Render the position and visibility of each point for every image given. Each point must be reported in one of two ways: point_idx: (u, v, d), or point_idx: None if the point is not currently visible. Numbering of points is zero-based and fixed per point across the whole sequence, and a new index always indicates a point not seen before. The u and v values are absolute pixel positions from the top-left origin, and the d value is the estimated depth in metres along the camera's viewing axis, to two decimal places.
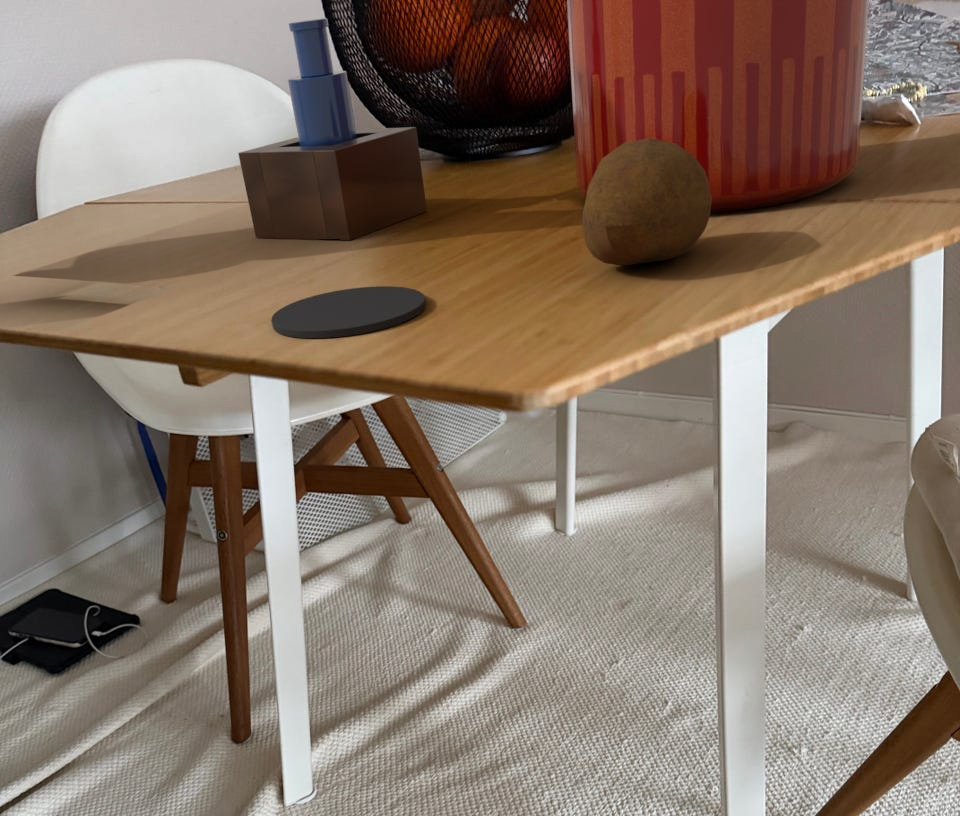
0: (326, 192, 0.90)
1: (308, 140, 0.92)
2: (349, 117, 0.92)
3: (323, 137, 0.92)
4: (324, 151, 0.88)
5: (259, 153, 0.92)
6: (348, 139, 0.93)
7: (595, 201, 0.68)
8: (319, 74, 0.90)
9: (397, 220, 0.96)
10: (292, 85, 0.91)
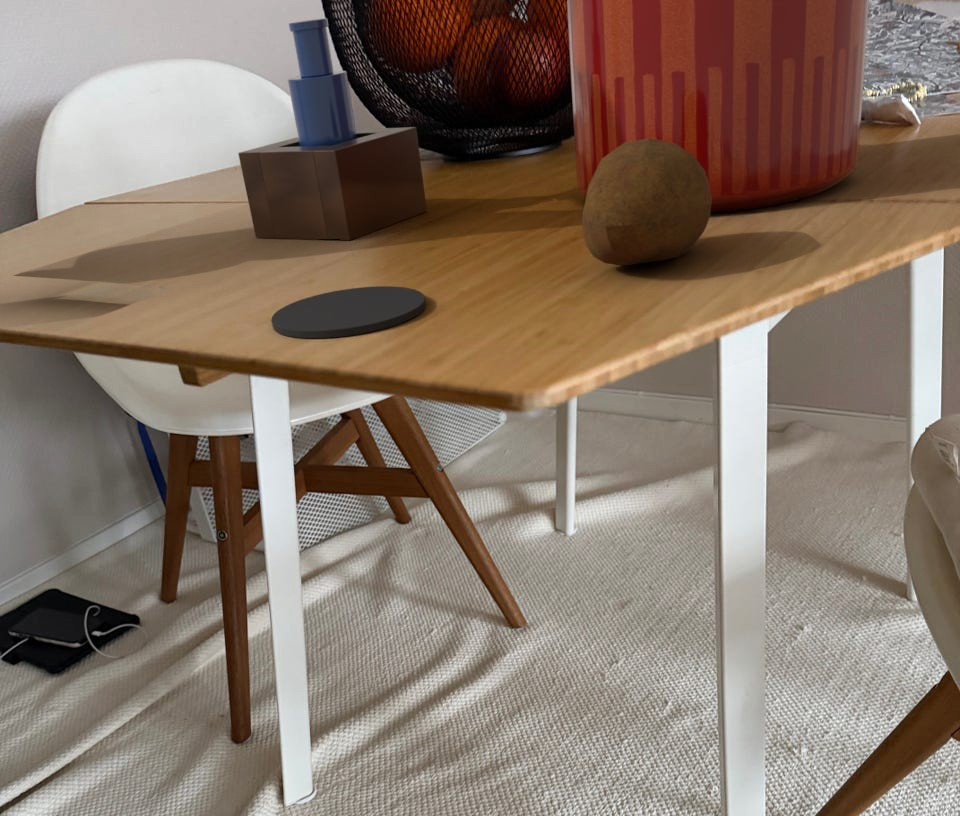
0: (326, 192, 0.90)
1: (308, 140, 0.92)
2: (349, 117, 0.92)
3: (323, 137, 0.92)
4: (324, 151, 0.88)
5: (259, 153, 0.92)
6: (348, 139, 0.93)
7: (595, 201, 0.68)
8: (319, 74, 0.90)
9: (397, 220, 0.96)
10: (292, 85, 0.91)
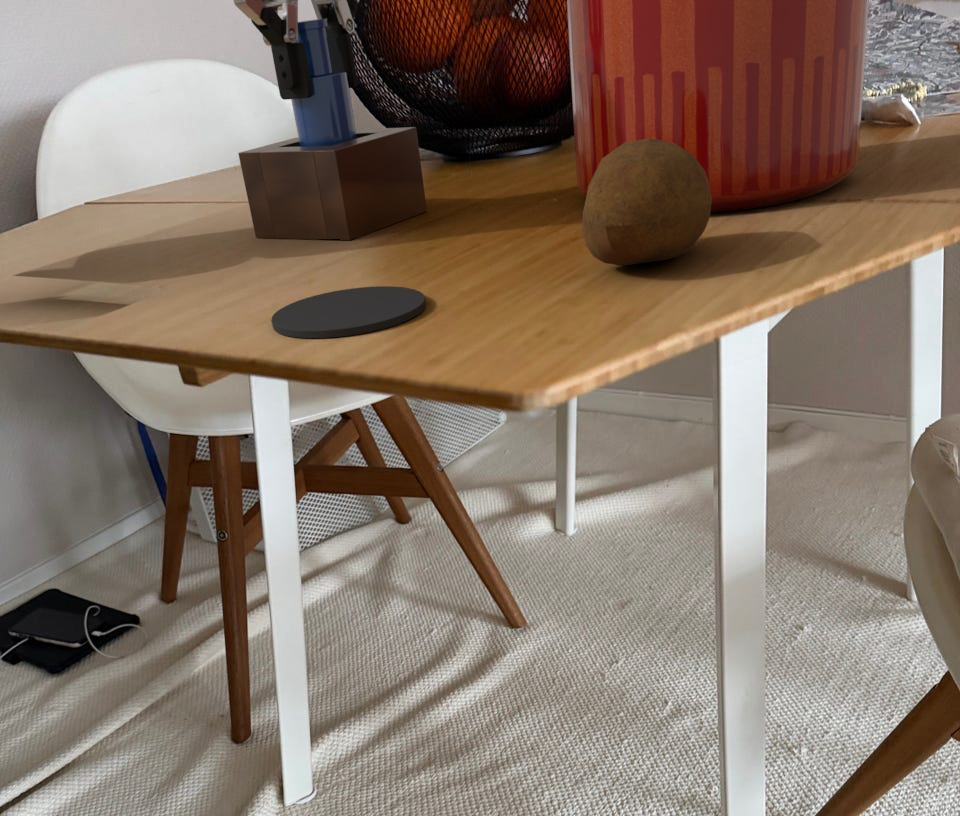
0: (326, 192, 0.90)
1: (308, 140, 0.92)
2: (349, 117, 0.92)
3: (323, 137, 0.92)
4: (324, 151, 0.88)
5: (259, 153, 0.92)
6: (348, 139, 0.93)
7: (595, 201, 0.68)
8: (319, 74, 0.90)
9: (397, 220, 0.96)
10: None
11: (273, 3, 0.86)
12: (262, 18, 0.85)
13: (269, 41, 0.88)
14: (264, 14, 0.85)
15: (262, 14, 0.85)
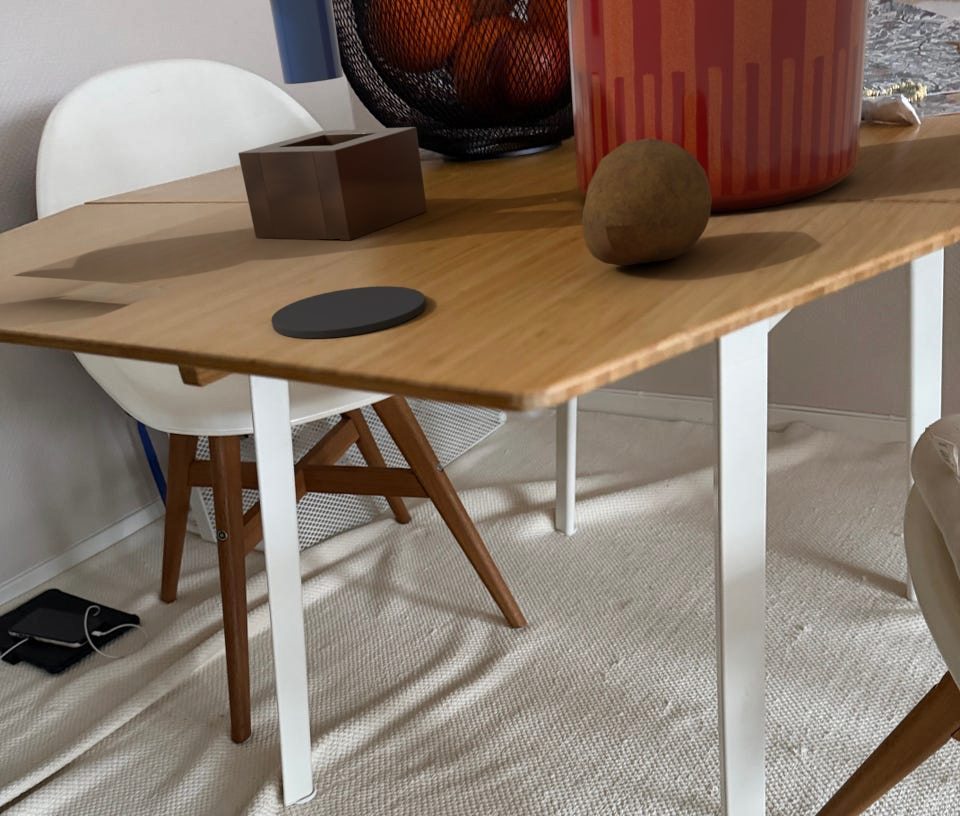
0: (326, 192, 0.90)
1: None
2: None
3: None
4: (324, 151, 0.88)
5: (259, 153, 0.92)
6: None
7: (595, 201, 0.68)
8: None
9: (397, 220, 0.96)
10: None
11: None
12: None
13: None
14: None
15: None
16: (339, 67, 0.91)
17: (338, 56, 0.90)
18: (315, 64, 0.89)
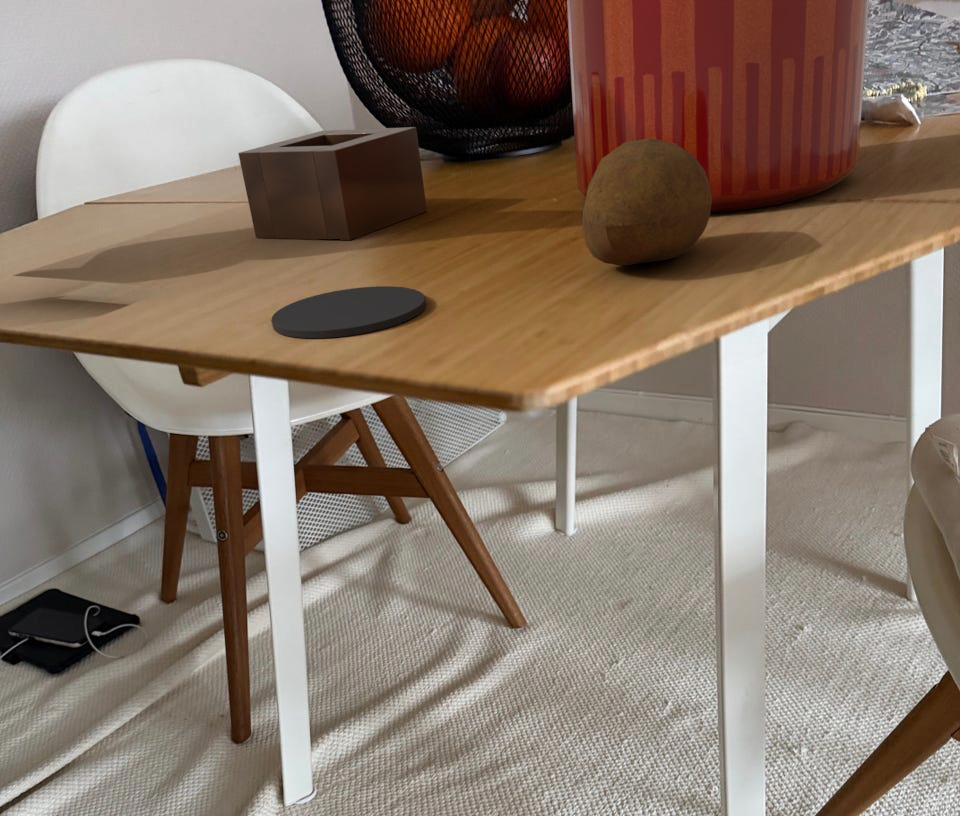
0: (326, 192, 0.90)
1: None
2: None
3: None
4: (324, 151, 0.88)
5: (259, 153, 0.92)
6: None
7: (595, 201, 0.68)
8: None
9: (397, 220, 0.96)
10: None
11: None
12: None
13: None
14: None
15: None
16: None
17: None
18: None
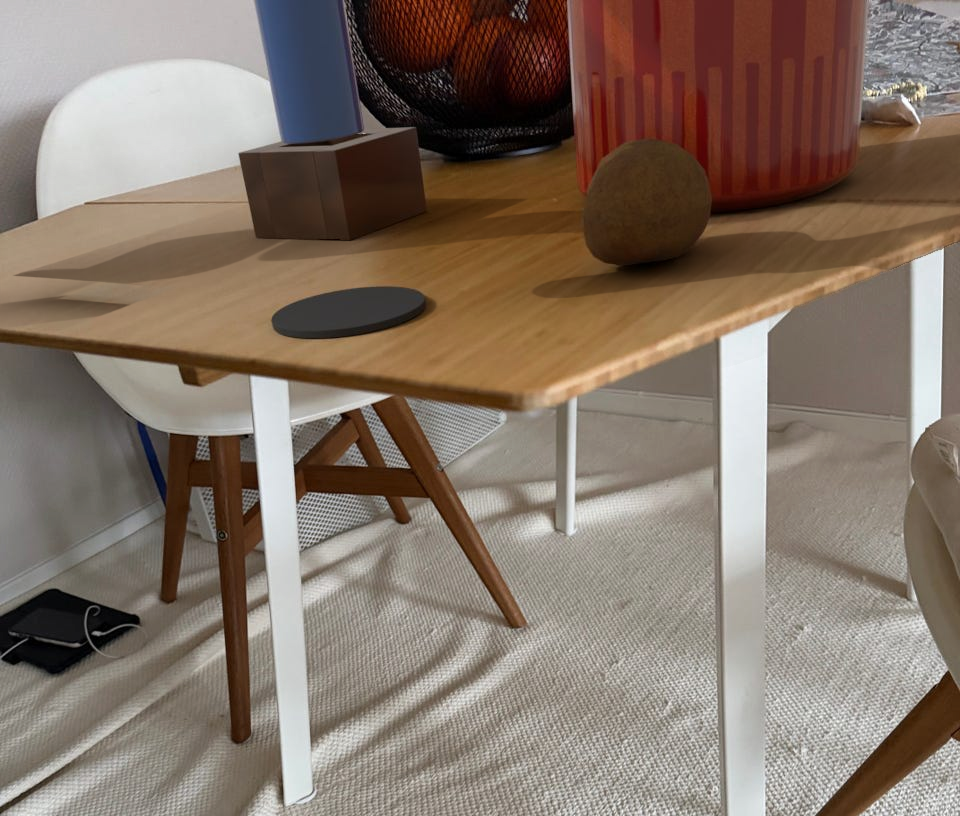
0: (326, 192, 0.90)
1: None
2: None
3: None
4: (324, 151, 0.88)
5: (259, 153, 0.92)
6: None
7: (595, 201, 0.68)
8: None
9: (397, 220, 0.96)
10: None
11: None
12: None
13: None
14: None
15: None
16: (359, 118, 0.64)
17: (358, 103, 0.64)
18: (325, 117, 0.62)
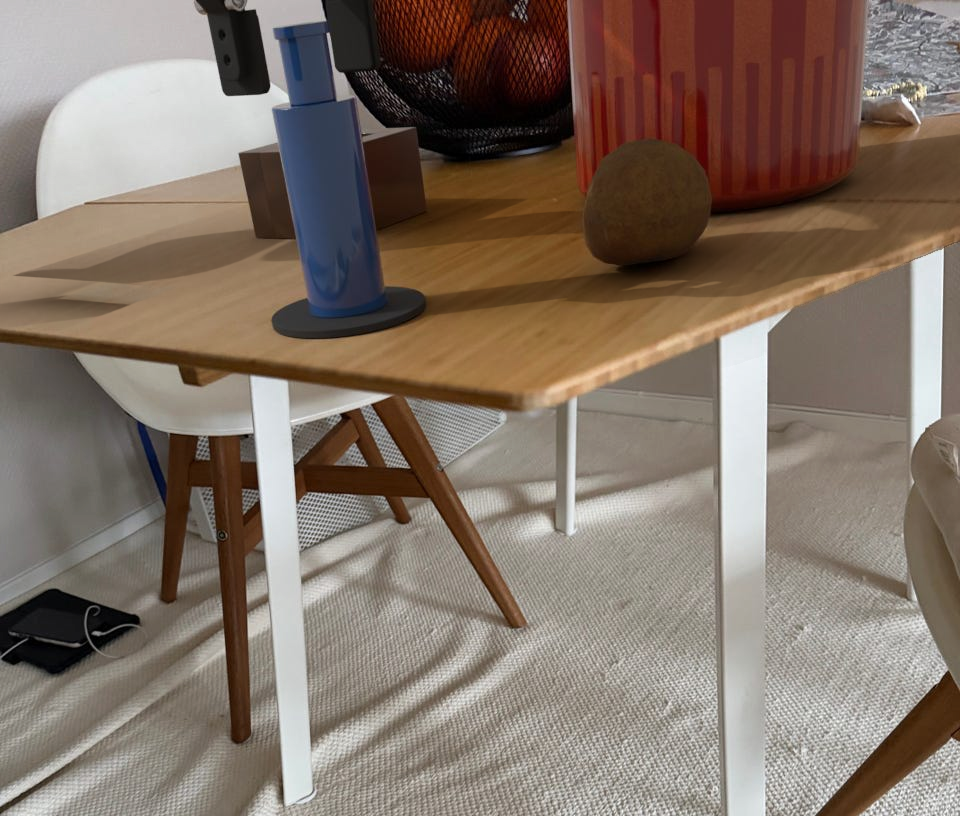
0: None
1: (301, 194, 0.65)
2: (359, 161, 0.65)
3: (322, 191, 0.64)
4: None
5: (259, 153, 0.92)
6: (358, 192, 0.65)
7: (595, 201, 0.68)
8: (316, 101, 0.63)
9: (397, 220, 0.96)
10: (277, 117, 0.63)
11: None
12: None
13: (203, 7, 0.58)
14: None
15: None
16: (383, 293, 0.69)
17: (381, 280, 0.69)
18: (352, 296, 0.68)
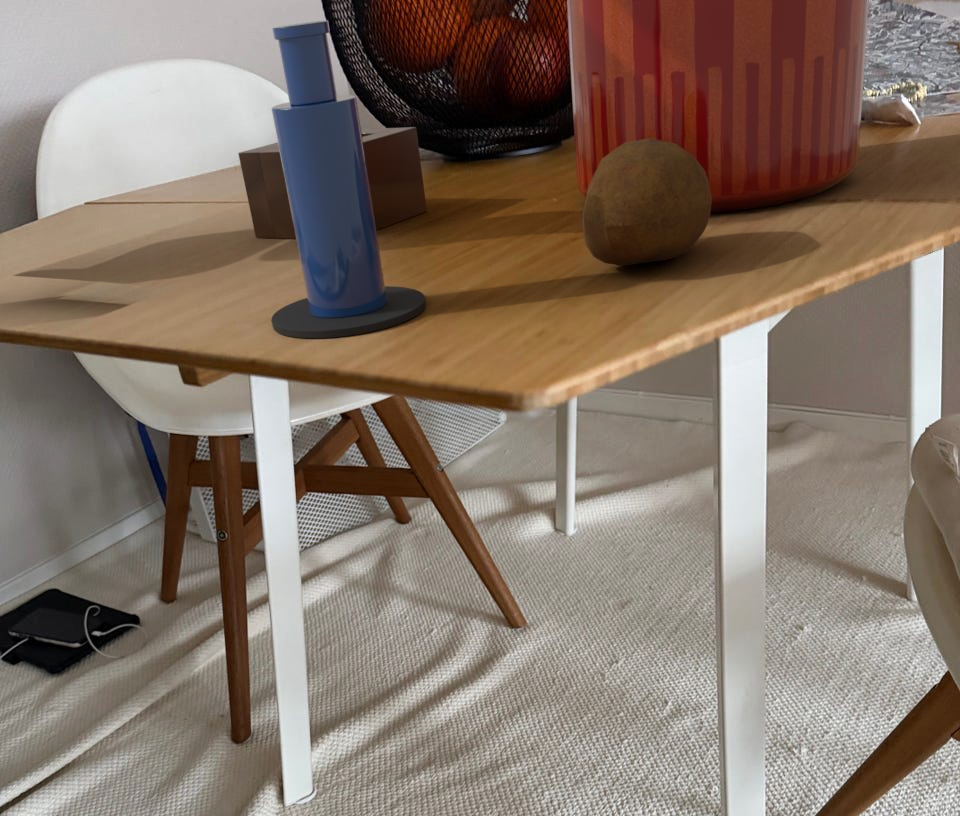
0: None
1: (301, 194, 0.65)
2: (359, 161, 0.65)
3: (322, 191, 0.64)
4: None
5: (259, 153, 0.92)
6: (358, 192, 0.65)
7: (595, 201, 0.68)
8: (316, 101, 0.63)
9: (397, 220, 0.96)
10: (277, 117, 0.63)
11: None
12: None
13: None
14: None
15: None
16: (383, 293, 0.69)
17: (381, 280, 0.69)
18: (352, 296, 0.68)
